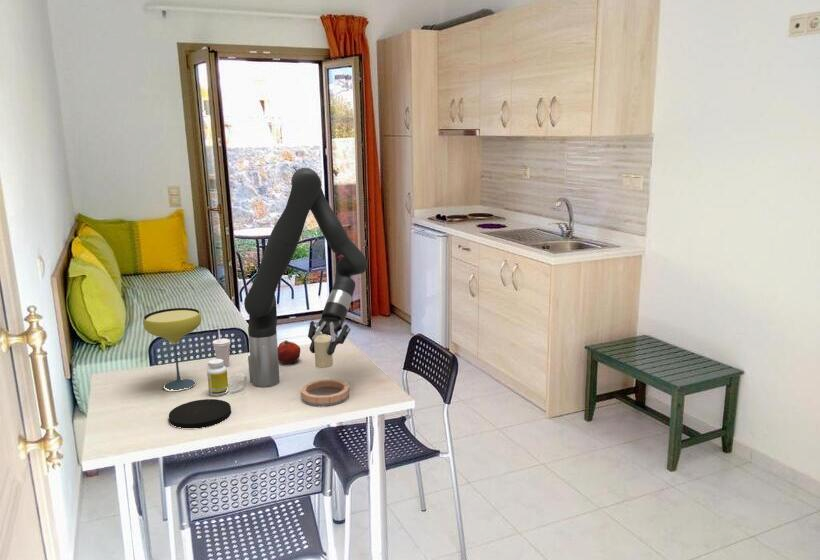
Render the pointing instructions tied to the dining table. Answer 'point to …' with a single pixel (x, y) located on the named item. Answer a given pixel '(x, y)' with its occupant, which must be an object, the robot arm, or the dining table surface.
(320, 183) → the robot arm
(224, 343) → the smoothie
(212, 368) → the pill bottle
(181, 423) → the wireless charger
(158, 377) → the dining table surface
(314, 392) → the dish
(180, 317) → the cocktail glass
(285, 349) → the tomato
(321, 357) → the candle
